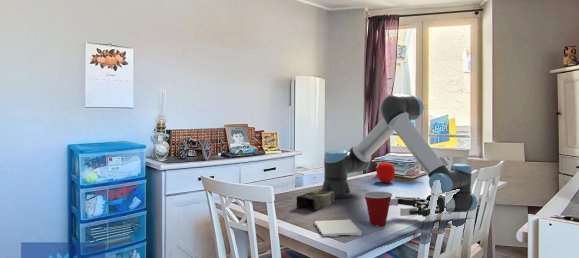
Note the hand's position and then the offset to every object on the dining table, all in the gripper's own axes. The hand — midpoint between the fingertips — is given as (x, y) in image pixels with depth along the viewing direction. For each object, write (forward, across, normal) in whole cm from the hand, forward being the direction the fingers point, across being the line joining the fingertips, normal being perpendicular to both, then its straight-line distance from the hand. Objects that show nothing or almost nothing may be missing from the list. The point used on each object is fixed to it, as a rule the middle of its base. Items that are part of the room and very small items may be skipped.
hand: (391, 207), depth 134 cm
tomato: (-36, +71, -7) cm, 80 cm away
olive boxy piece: (+20, +31, -7) cm, 38 cm away
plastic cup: (+6, +1, -7) cm, 9 cm away
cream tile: (+23, -2, -6) cm, 24 cm away
